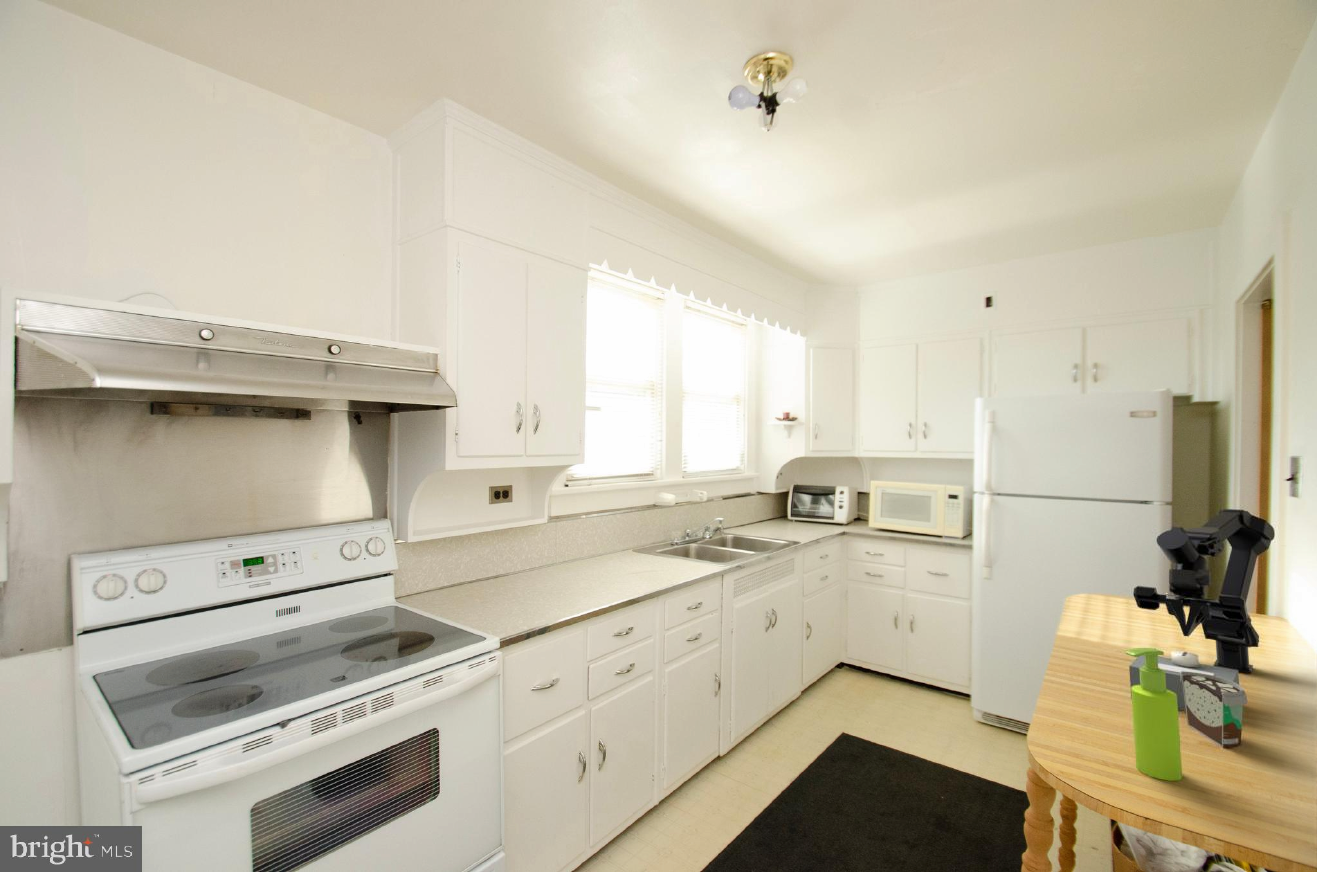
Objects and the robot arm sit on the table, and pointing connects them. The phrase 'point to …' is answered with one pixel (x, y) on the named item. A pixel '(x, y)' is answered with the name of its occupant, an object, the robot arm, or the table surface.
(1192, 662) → the knob
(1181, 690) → the console
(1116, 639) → the table surface
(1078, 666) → the table surface
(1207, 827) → the table surface
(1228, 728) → the food container
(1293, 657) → the table surface
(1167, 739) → the soap dispenser
